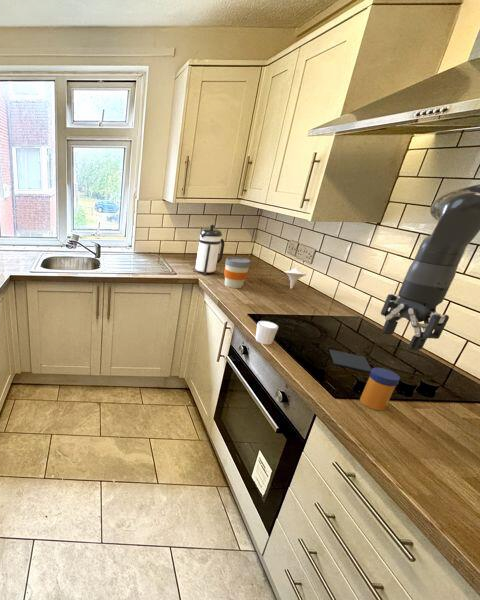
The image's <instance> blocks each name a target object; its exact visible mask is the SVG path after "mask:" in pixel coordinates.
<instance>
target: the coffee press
mask: <svg viewBox="0 0 480 600" xmlns="http://www.w3.org/2000/svg"><path fill="white" fill-rule="evenodd" d="M222 237H223V233H222V231H221V230H220V229H218V228H215V224H211V225H210V227H209V228H207V227H206V228H204V229H202V230H201V231H200V232H199V238H198V244H197V245H198V247H197V253H196V259H195V265H194V272H196V271H197V272H201V273H203V274H202V275H203V276H206V275H207V273H208V274H209V273H214V274H215V273H216V274H215V275H217V274H218V271H217V266H218V264H220V263H221V261H222V259H223V256H224V249H225V240H224V239H223V238H222ZM215 271H216V272H215Z"/></svg>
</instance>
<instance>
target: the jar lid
mask: <svg viewBox="0 0 480 600" xmlns="http://www.w3.org/2000/svg"><path fill="white" fill-rule="evenodd" d="M371 369H372V370H371V372H369V374H368V375H369V376H370V377H371V378H372V379H373V380H374V381H376V382H378V383H381V384H384V385H388V386H396V387H397V386H398V385H399V382H400V380H401V376H399V374H397V373H396V372H394V371H392V370H389V369H387V368H384V367H383V368H382V367H373V368H372V367H371ZM369 376H368V377H369Z"/></svg>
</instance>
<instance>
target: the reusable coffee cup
mask: <svg viewBox="0 0 480 600" xmlns="http://www.w3.org/2000/svg"><path fill="white" fill-rule="evenodd" d="M224 265H225V266H224V271H223V272H224V273H223V275H224V286H225V287H228V288H231V289H241V288H243V285H244V282H245V280H246V279H247V276H248V273H249V269H250V267H251V260H250V259H249V258H245V257H240V256H228V257H227V258H225V262H224Z"/></svg>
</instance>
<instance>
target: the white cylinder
mask: <svg viewBox="0 0 480 600" xmlns="http://www.w3.org/2000/svg"><path fill="white" fill-rule="evenodd" d="M278 330H279V325H278V324H276V323H275V322H272V321H269V320H258V322H257V324H256V330H255V331H256V332H255V341H256V342H257V343H259V344H262V345H268V346H269V345H272V344H273V342H274V340H275V336H276V334H277V332H278Z"/></svg>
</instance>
